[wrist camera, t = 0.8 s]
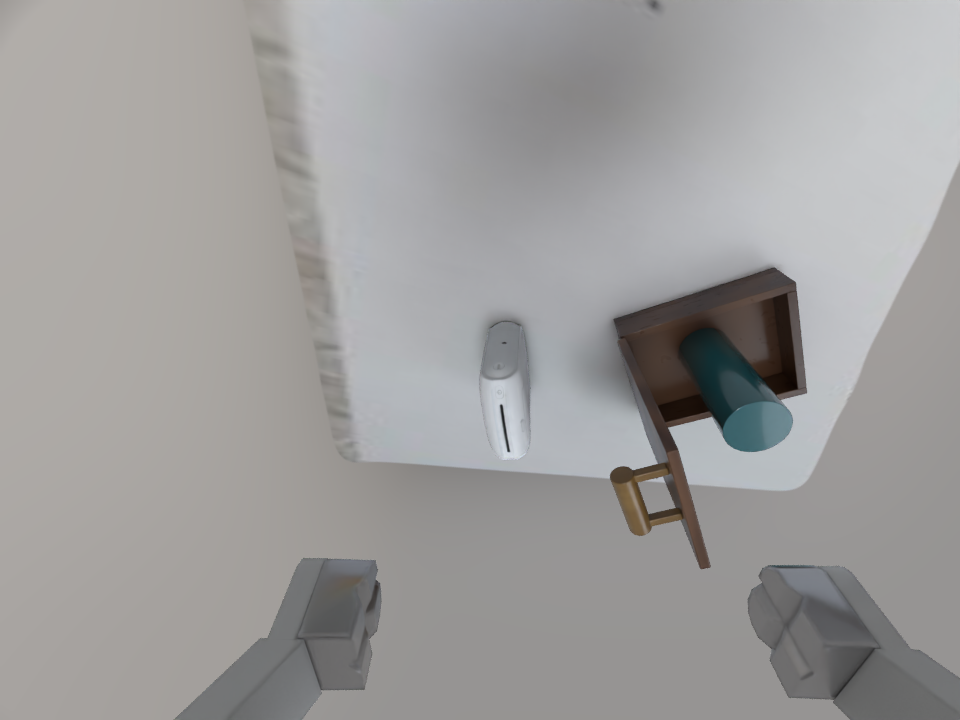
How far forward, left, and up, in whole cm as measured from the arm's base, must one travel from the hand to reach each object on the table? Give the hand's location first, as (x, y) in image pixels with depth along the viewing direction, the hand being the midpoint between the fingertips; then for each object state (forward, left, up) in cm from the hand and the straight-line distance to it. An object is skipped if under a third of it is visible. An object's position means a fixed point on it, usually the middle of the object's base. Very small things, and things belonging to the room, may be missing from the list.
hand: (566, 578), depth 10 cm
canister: (+12, +20, -38) cm, 44 cm away
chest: (+12, +20, -39) cm, 45 cm away
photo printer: (+17, 0, -39) cm, 42 cm away
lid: (+16, +13, -26) cm, 33 cm away
